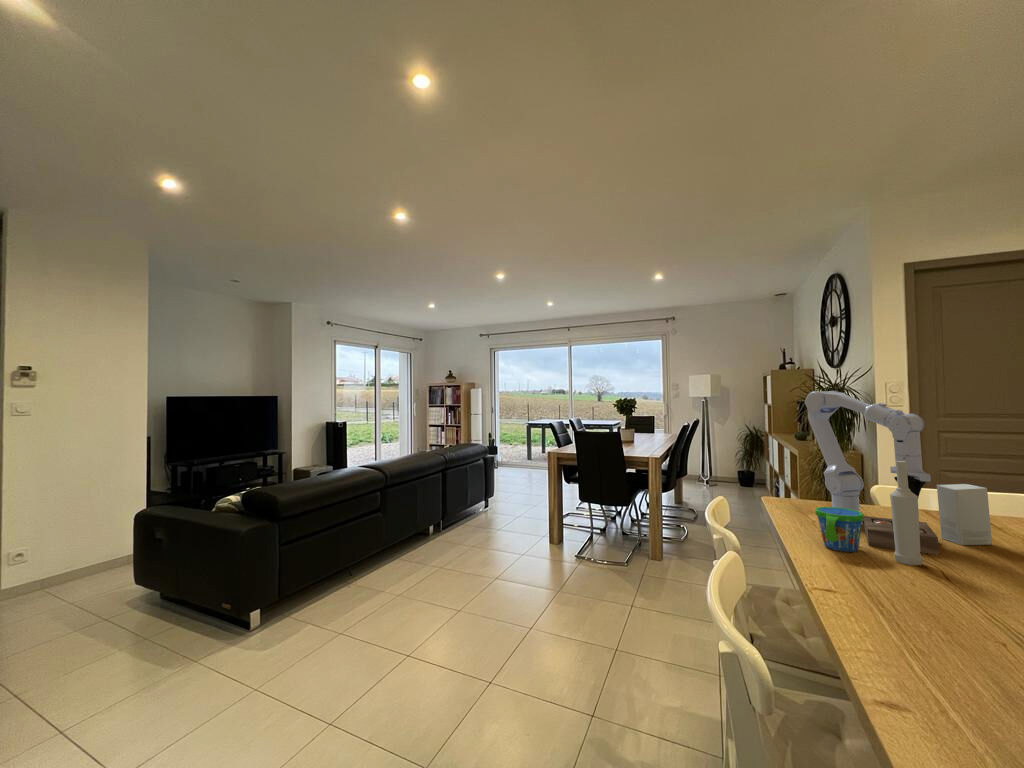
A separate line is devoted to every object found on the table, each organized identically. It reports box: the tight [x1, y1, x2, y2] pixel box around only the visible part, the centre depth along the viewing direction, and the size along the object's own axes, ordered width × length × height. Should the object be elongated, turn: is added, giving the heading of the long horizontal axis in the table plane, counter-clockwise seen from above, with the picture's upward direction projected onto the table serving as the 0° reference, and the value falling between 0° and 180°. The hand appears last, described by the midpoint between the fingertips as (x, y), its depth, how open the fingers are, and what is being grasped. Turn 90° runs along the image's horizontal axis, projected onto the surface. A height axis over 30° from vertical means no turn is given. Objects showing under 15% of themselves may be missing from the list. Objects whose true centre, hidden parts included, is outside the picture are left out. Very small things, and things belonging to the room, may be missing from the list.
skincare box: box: [936, 483, 993, 546], centre depth 118 cm, size 8×7×16 cm
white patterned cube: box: [873, 520, 892, 525], centre depth 124 cm, size 4×4×4 cm
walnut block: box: [863, 515, 940, 556], centre depth 120 cm, size 16×14×4 cm
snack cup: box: [814, 506, 865, 553], centre depth 116 cm, size 16×10×10 cm
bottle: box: [889, 461, 923, 566], centre depth 106 cm, size 5×5×25 cm
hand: (911, 502), depth 122 cm, fingers closed
